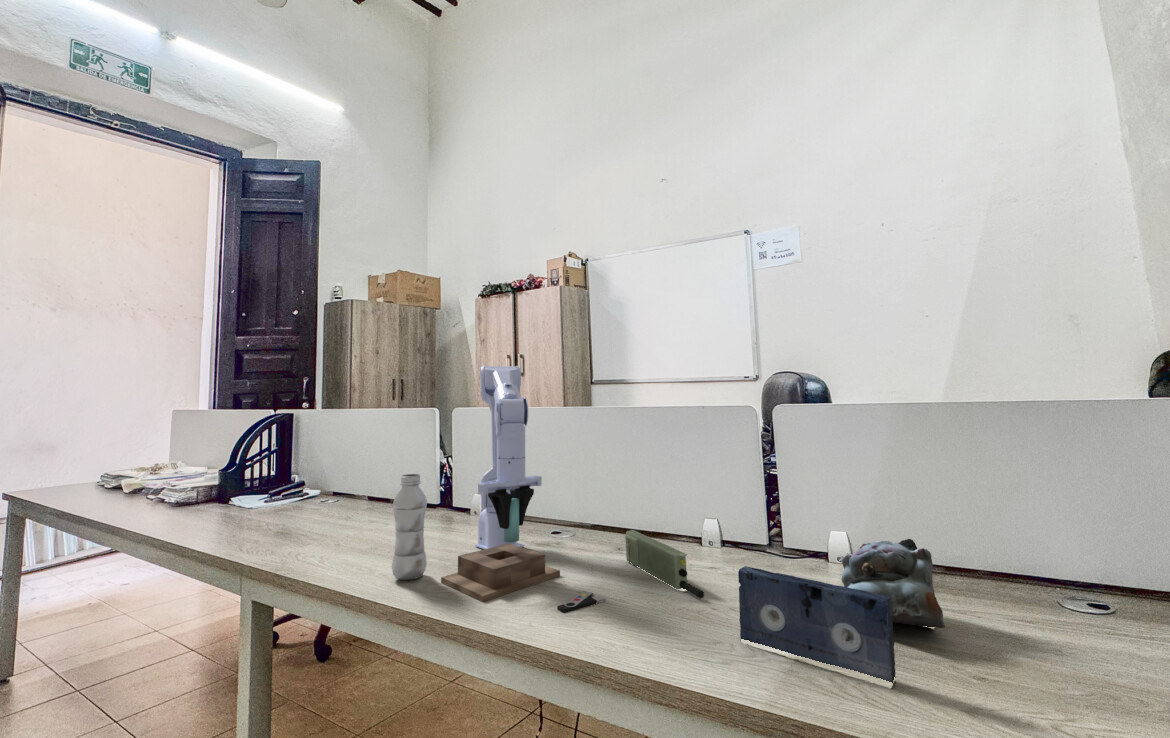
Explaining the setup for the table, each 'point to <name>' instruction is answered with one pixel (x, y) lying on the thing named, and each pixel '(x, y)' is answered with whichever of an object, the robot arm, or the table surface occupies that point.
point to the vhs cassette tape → (818, 621)
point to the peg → (513, 522)
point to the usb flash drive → (580, 602)
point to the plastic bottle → (409, 529)
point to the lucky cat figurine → (896, 579)
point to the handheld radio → (659, 561)
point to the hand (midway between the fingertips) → (511, 526)
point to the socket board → (494, 593)
